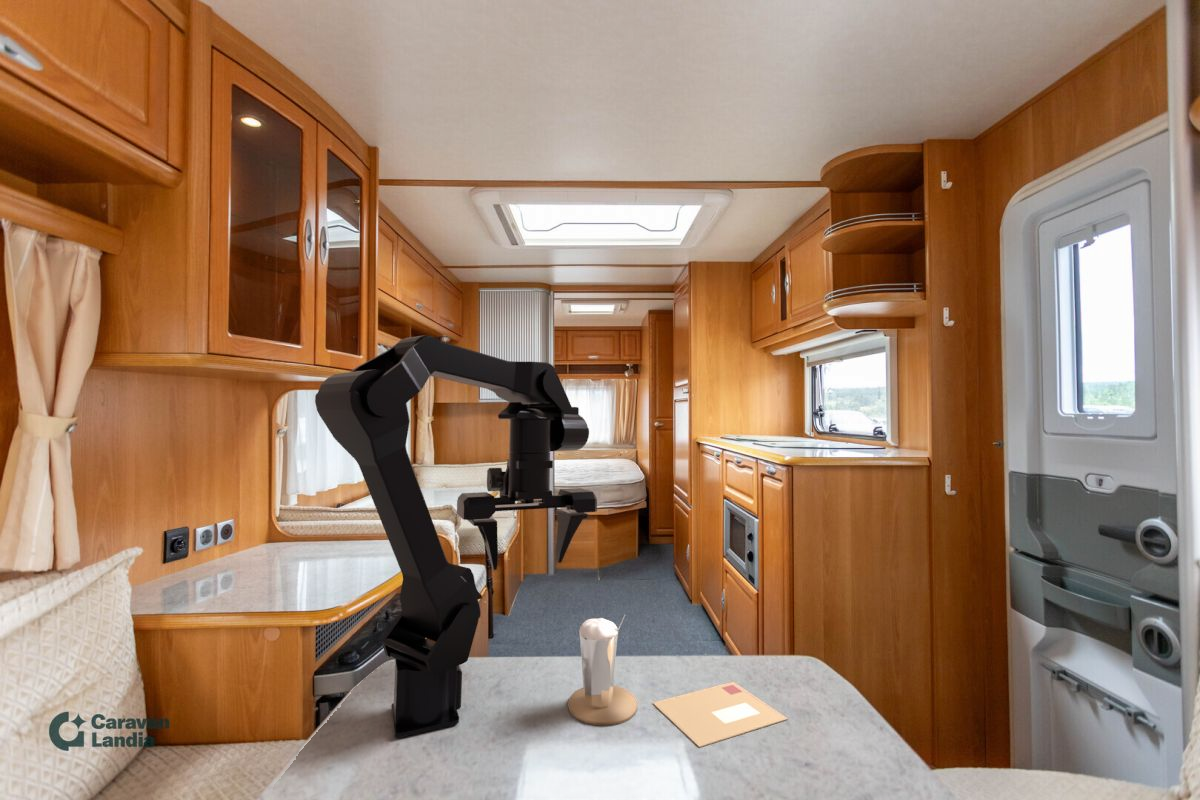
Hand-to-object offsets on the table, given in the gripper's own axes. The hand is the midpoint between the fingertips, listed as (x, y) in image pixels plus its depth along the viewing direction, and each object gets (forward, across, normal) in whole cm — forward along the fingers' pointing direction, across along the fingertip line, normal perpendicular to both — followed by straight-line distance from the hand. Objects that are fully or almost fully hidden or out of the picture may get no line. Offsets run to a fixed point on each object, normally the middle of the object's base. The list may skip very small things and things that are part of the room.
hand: (527, 565), depth 70 cm
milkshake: (+13, -5, +14) cm, 20 cm away
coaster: (+13, -5, +14) cm, 20 cm away
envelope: (+13, -16, +20) cm, 29 cm away
